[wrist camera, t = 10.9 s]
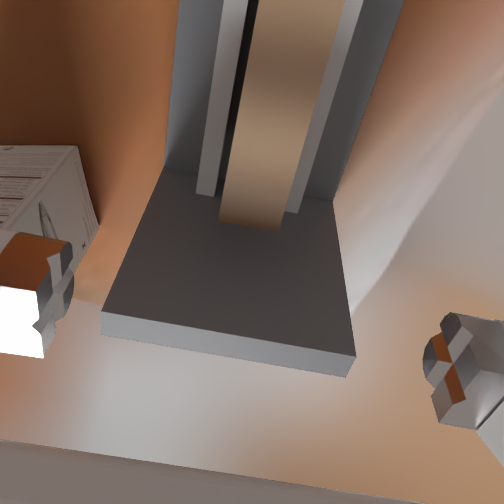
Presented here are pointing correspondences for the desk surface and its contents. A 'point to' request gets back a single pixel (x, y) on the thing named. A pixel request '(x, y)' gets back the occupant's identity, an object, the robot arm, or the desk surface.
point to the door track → (243, 237)
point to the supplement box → (47, 195)
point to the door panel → (276, 107)
